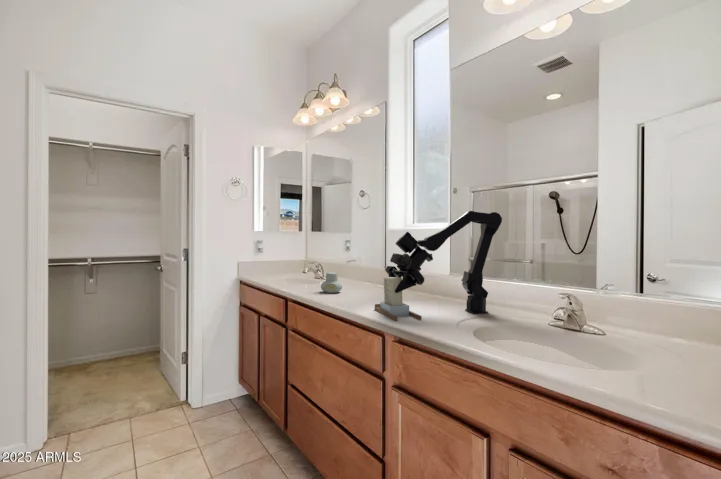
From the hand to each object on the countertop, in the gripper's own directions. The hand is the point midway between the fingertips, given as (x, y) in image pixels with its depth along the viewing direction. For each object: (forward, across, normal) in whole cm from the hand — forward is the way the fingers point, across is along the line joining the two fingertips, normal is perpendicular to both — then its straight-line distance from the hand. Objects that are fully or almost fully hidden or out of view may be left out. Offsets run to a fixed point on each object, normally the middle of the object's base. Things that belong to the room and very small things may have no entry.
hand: (390, 291), depth 130 cm
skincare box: (+4, 0, +6) cm, 7 cm away
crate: (+5, 0, +7) cm, 8 cm away
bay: (+5, +3, +7) cm, 9 cm away
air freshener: (+4, -57, +8) cm, 57 cm away
